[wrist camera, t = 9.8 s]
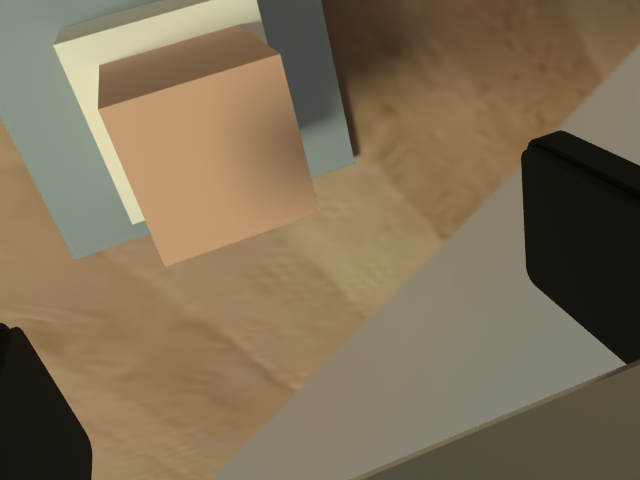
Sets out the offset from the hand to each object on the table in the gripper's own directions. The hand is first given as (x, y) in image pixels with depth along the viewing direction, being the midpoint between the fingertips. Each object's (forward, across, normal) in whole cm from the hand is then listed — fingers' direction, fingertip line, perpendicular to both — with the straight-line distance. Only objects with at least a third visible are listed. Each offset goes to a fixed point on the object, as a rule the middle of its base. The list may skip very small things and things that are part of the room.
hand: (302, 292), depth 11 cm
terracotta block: (+13, +1, 0) cm, 13 cm away
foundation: (+18, +1, 0) cm, 18 cm away
